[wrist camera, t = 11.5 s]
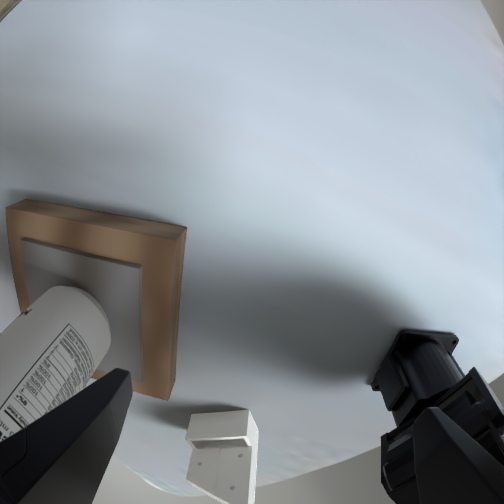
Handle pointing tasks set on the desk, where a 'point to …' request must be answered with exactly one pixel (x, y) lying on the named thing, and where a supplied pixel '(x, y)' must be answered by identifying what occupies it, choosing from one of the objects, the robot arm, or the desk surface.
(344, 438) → the desk surface
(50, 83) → the desk surface
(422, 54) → the desk surface
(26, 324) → the energy drink can
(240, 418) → the white angled block
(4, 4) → the book
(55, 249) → the brown square frame
